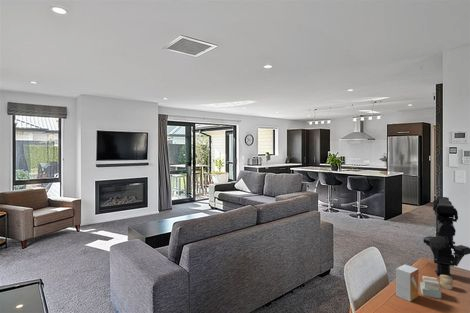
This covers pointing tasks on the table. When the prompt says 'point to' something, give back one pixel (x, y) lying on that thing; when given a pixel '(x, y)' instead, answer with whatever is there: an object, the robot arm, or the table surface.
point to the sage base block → (430, 292)
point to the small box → (407, 282)
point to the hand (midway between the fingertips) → (445, 262)
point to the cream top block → (430, 283)
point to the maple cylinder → (446, 282)
